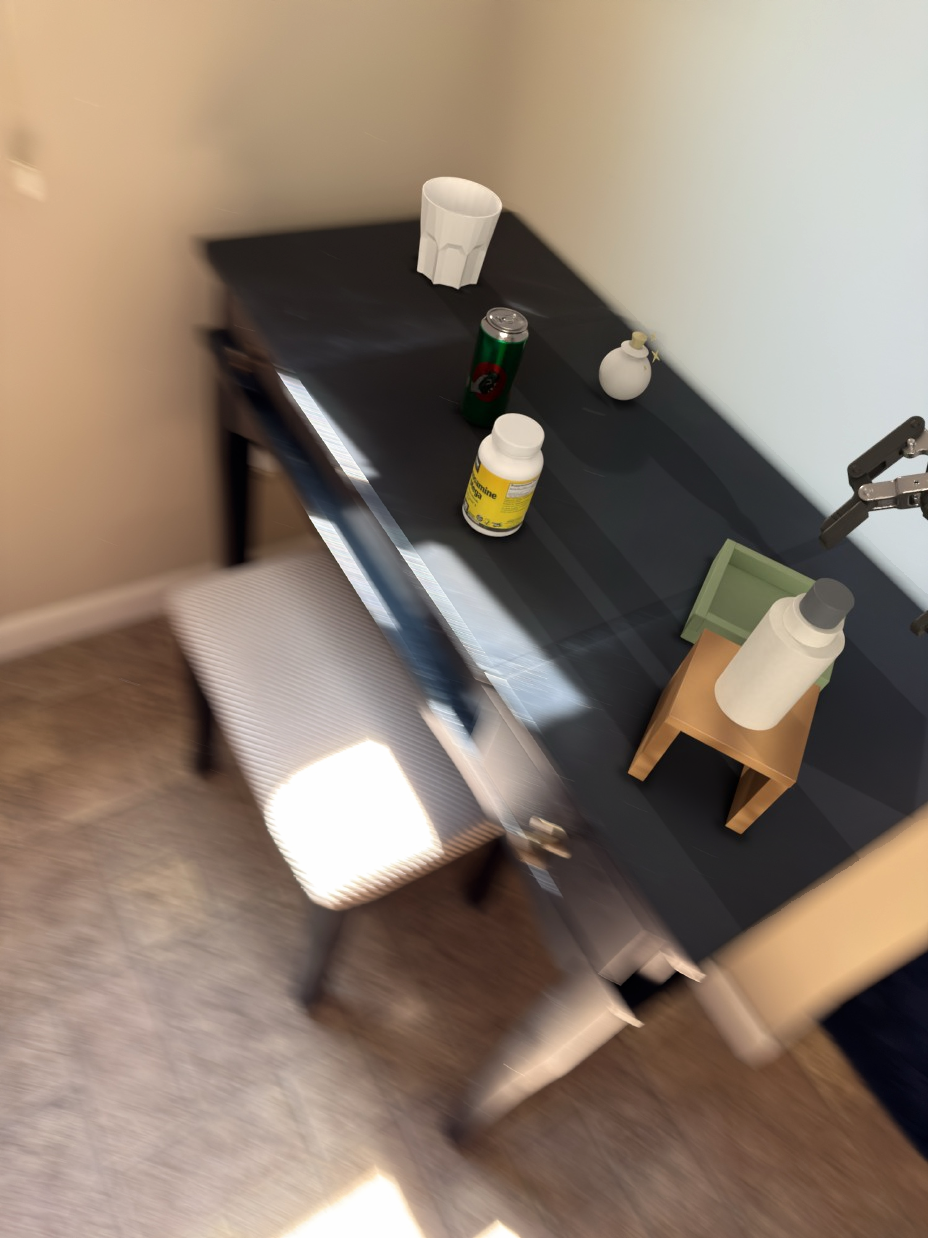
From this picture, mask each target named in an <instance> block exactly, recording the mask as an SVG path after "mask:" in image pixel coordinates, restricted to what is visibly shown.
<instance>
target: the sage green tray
mask: <svg viewBox="0 0 928 1238" xmlns="http://www.w3.org/2000/svg"><path fill="white" fill-rule="evenodd" d="M816 581H817V580H814V579H812V578H811V577H808V576H806V575H805V574H802V573H800V572H798V571H796V570H794V569H792V568H790V567H788V566H786V565H785V564H782V563H780V562H778V561H776V560H773V559H772V558H770V557H767V556H765V555H763V554H761V553H759V552H757V551H755V550H753V549H751V548H748V547H747V546H745V545H743V544H741V543H738V542H736V541H735V540H733V539H730V538H727V539H726V540H725V542H724V543H723V545H722V547H721V549H719V551H718V553H717V555H716V556H715V558H714V560H713V561H712V563H711V565H710V568H709V570H708V573H707V575H706V577H705V580H704V581H703V584H702V586H701V589H700V590H699V593H698V595H697V597H696V600H695V602H694V604H693V607H692V608H691V611H690V613H689V616H688V618H687V620H686V622H685V625H684V627H683V629H682V632H681V634H680V638H682V639H684V640H685V641H687V642H689V643H691V644H693V645H694V644H695V643H696V641H697V640H698V638H699V637H700V635H701V633H702V632H703V630H704V629H705V628H706V629H708V630H710V631H712V632H714V633H716V634H718V635H720V636H722V637H724V638H725V639H727V640H729V641H731V642H733V643H735V644H737V645H739V646H741V647H742V646H743V644H744V643H745V642H746V640H747V639H748V638H749V636H750V635H751V634H752V632H753V631H754V630H755V628H756V627H757V625H758V624H759V623H760V621H761V620H762V619H763V617H764V616H765V615H766V613H767V612H768V611H769V609H770V608H771V607H772V605H773V604H774V603H775V602H776V601H778V600H780V599H782V598H786V597H797V596H798V595H800V594H803V593H807V592H808V591H809V589H810V588H811V587H812V586H813V584H814V583H815V582H816ZM846 618H847V615H846V616H845V617H844V618H843V619H844V623H846ZM843 629H844V628H843ZM843 629H842V630H843ZM835 661H836V659H835V660H834V661H833V662H832V663H831V664H830V665H829V667H828V668H827V669H826V670H825V671H824V672H823V673H822V674H821V676H820V677H819V678H818V679H817V680H816V681H815V682H814V684H816V685H818V686H820V687H821V688H820V692H821V691H823V690H824V688H825V687H826V686H827V685H828V684H829V683H830V680H831V676H832V673H833V669H834V665H835Z"/></svg>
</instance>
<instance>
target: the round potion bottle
mask: <svg viewBox="0 0 928 1238" xmlns="http://www.w3.org/2000/svg"><path fill="white" fill-rule="evenodd" d="M650 336H651V339H650V340H651V341H650V342H651V343H652V342H653V340H655V341H657V338H656V337H655V336H656V332H654V333H653V334H652V333H651V332H650ZM648 339H649V337H648V335H646V334H645V333H644V332H641V331H633V332H632V335H631V340H624V341H622V343H620V344H621V345H620V347H617V348H614V349H613V350H611V351H610V352H609V353H607V354H606V356H604V358H603V359H602V361H601V363H600V366H599V369H598V380H599V383H600V386H601V388H602V390H603V391H604V392H605V393H606V394H607V395H608V396H609V397H610V398H613V399H615V400H620V401H628V400H633V399H635V398H637V397H638V396H640V395H641V394H642V393H643V392H644V391H645V390H646V389H647V388H648V386H649V384H650V381H651V378H652V366H651V363H650V360H649V358H648V356H649V353H650V352H649V350H648V347H646V346H645V343H646V342H647V341H648ZM651 353H652V354H653V360H652V363H654V362H655V360H658V361H661V360H660V358H659V356H658V354H659V348H658V349H657V350H656V351H655V352H654V351H653V350H651Z"/></svg>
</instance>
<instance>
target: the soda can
mask: <svg viewBox="0 0 928 1238" xmlns="http://www.w3.org/2000/svg"><path fill="white" fill-rule="evenodd" d="M528 324H529V322H528V320H527V319H526V317H525V316H524V315H523V314H522V313H520V312H518V311H517V310H514V309H511V308H508V307H493V308H491V309H489V310H488V311H487V312H486V315H485V316H484V317H483V318H482V319H481V321H480V324H479V327H478V332H477V336H476V340H475V344H474V347H473V351H472V356H471V360H470V364H469V367H468V372H467V376H466V379H465V380H466V381H465V384H464V387H463V392H462V396H461V401H460V404H459V407H460V408H459V409H460V413H461V414H462V415H463V417H464V418H465V419H466V420H467V421H468V422H469V423H470V424H473V425H475V426H479V427H483V428H490V427H494V424H495V421H496V420H497V419H498V418H499V417H500V416H502V415H505V414H507V410H508V406H509V403H510V400H511V396H512V393H513V389H514V386H515V383H516V380H517V377H518V373H519V369H520V366H521V363H522V359H523V356H524V353H525V350H526V346H527V343H528V339H529V335H530V332H529V329H528V327H529V325H528Z"/></svg>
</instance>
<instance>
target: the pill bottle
mask: <svg viewBox="0 0 928 1238" xmlns="http://www.w3.org/2000/svg"><path fill="white" fill-rule="evenodd" d="M544 440H545V431H544V429H543V427H542V426H541V425H540V424H539V422H537V421H536V420H534V419H533V418H531V417H530V416H527V415H524V414H522V413H521V414H520V413H514V412H513V413H505V415H502V416H500V417H499V418H498V419H497V420H496V421H495V424H494V426H492V430H491V433H490V434H489V435H487V436H486V437H485V438H484V439H483V440H482V441H481V443H480V445H479V447H478V450H477V453H476V457H475V460H474V464H473V467H472V471H471V475H470V478H469V482H468V484H467V487H466V492H465V494H464V495H465V496H464V499H463V503H462V514H463V517H464V519H465V521H466V522H467V523H468V524H469V526H470V527H471V528H472V529H474V530H475V531H476V532H478V533H481V534H483V535H486V536H489V537H506V536H509V535H512V534H514V533H516V532H517V531H518V530H520V528H521V526H522V525H523V522H524V519H525V516H526V513H527V512H528V509H529V507H530V503H531V500H532V498H533V495H534V492H535V490H536V486H537V484H538V481H539V478H540V476H541V474H542V470H543V468H544V467H543V466H544V455H543V452H542V450H541V449H542V446H543V443H544Z"/></svg>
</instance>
